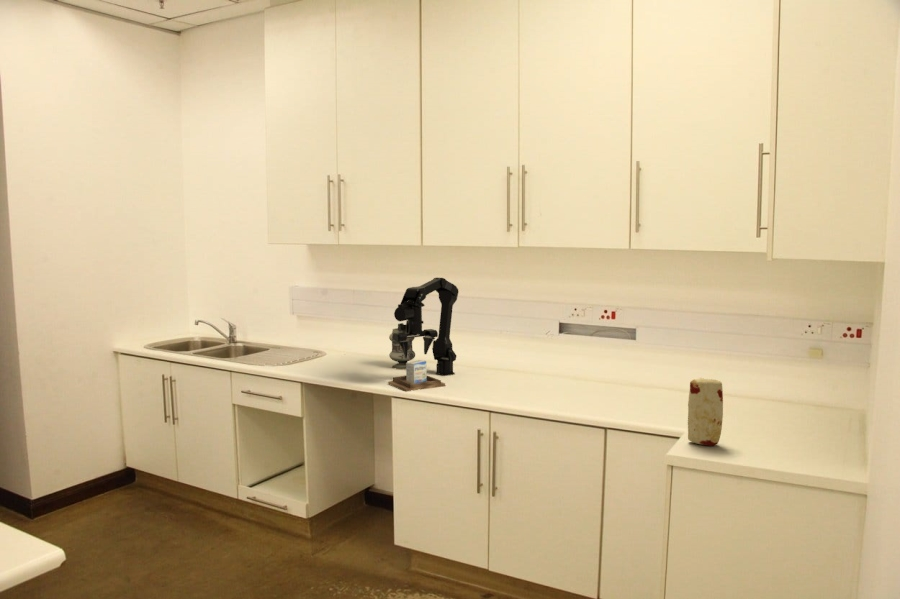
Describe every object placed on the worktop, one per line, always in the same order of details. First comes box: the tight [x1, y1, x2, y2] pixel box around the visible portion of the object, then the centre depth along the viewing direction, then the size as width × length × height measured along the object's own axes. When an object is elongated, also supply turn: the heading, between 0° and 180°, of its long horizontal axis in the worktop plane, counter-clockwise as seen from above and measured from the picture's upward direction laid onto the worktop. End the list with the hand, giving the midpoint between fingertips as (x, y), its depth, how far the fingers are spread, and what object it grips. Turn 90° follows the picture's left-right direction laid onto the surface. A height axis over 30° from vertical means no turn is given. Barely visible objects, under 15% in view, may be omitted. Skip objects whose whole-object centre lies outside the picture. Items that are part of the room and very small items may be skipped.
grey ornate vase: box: [388, 327, 416, 370], centre depth 326 cm, size 12×12×18 cm
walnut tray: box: [388, 375, 446, 392], centre depth 290 cm, size 18×16×2 cm
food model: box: [687, 377, 724, 447], centre depth 208 cm, size 10×7×20 cm
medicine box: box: [405, 359, 428, 384], centre depth 290 cm, size 8×4×9 cm, turn 141°
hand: (415, 355), depth 292 cm, fingers open, 9 cm apart
